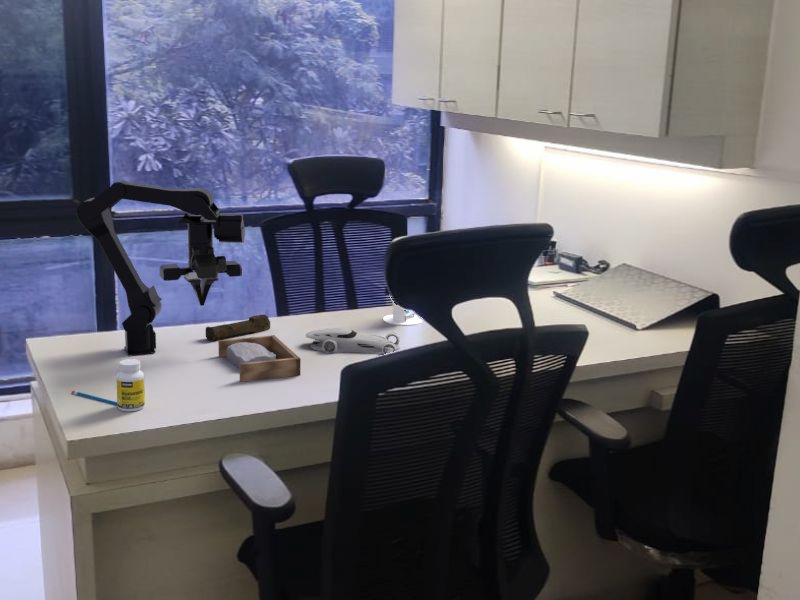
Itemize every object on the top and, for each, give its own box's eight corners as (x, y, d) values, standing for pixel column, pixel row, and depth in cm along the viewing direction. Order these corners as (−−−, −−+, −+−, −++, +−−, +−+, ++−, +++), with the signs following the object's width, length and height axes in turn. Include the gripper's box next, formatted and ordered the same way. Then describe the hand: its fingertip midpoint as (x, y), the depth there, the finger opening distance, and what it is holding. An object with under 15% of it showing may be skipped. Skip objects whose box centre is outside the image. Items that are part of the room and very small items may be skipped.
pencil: (74, 393, 191) (74, 390, 191) (134, 409, 183) (134, 406, 183) (71, 394, 190) (71, 391, 190) (132, 410, 182) (132, 407, 182)
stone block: (259, 360, 223) (222, 358, 217) (263, 342, 222) (225, 339, 216) (279, 376, 213) (240, 374, 207) (283, 357, 212) (244, 354, 207)
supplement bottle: (119, 413, 180) (117, 367, 178) (116, 404, 185) (113, 359, 182) (147, 410, 182) (145, 364, 180) (143, 401, 187) (141, 356, 184)
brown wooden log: (212, 343, 229) (212, 326, 228) (204, 339, 232) (204, 322, 231) (275, 332, 241) (275, 316, 240) (267, 329, 244) (267, 312, 243)
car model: (398, 358, 223) (399, 338, 222) (301, 352, 225) (301, 333, 224) (402, 345, 234) (402, 326, 233) (309, 339, 236) (310, 321, 235)
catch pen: (240, 381, 201) (240, 364, 200) (218, 356, 218) (218, 340, 217) (300, 375, 207) (300, 358, 206) (274, 350, 224) (274, 335, 223)
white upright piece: (411, 328, 249) (413, 275, 245) (375, 322, 253) (376, 270, 250) (429, 318, 259) (431, 267, 256) (393, 313, 264) (395, 263, 260)
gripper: (167, 249, 203) (169, 316, 207) (248, 246, 211) (248, 310, 215) (158, 241, 213) (160, 305, 216) (235, 237, 221) (236, 299, 224)
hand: (201, 305), depth 218 cm, fingers closed
